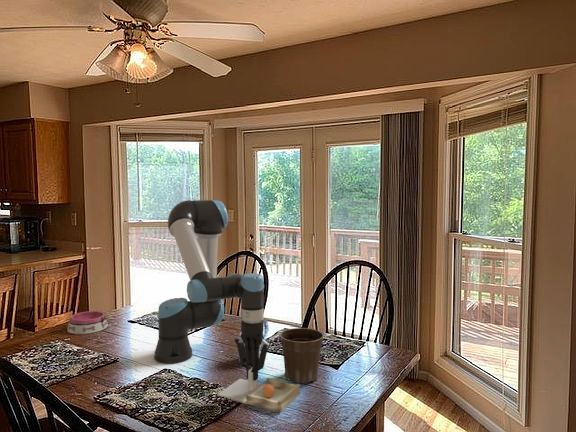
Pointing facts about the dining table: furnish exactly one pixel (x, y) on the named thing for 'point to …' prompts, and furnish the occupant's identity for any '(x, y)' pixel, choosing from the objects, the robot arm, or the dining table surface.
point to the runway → (250, 392)
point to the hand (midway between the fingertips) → (252, 388)
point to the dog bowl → (87, 323)
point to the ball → (268, 390)
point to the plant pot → (301, 354)
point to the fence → (272, 404)
